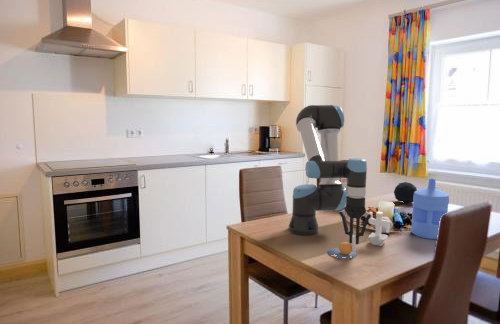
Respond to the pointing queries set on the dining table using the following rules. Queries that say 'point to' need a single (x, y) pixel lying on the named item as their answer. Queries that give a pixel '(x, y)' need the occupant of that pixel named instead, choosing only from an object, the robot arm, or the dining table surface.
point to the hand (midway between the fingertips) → (353, 250)
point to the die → (384, 226)
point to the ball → (345, 248)
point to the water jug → (428, 210)
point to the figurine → (378, 229)
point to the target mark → (339, 255)
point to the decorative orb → (405, 192)
